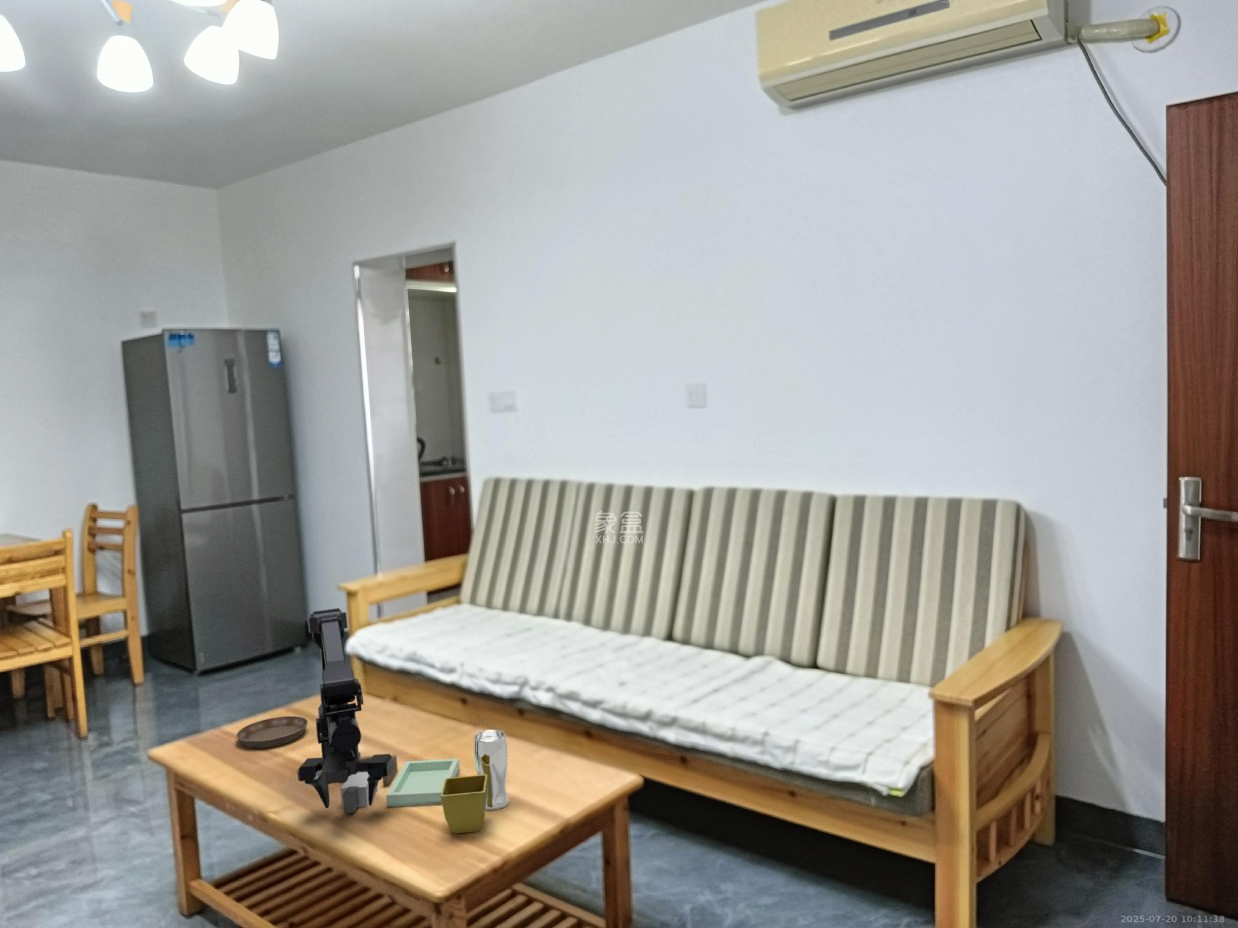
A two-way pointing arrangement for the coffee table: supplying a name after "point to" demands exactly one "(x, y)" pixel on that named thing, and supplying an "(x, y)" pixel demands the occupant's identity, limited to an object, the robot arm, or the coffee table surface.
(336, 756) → the robot arm
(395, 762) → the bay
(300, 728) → the plant saucer
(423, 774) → the tray
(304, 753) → the coffee table surface
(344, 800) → the grey stepped block
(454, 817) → the flower pot
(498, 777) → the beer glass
